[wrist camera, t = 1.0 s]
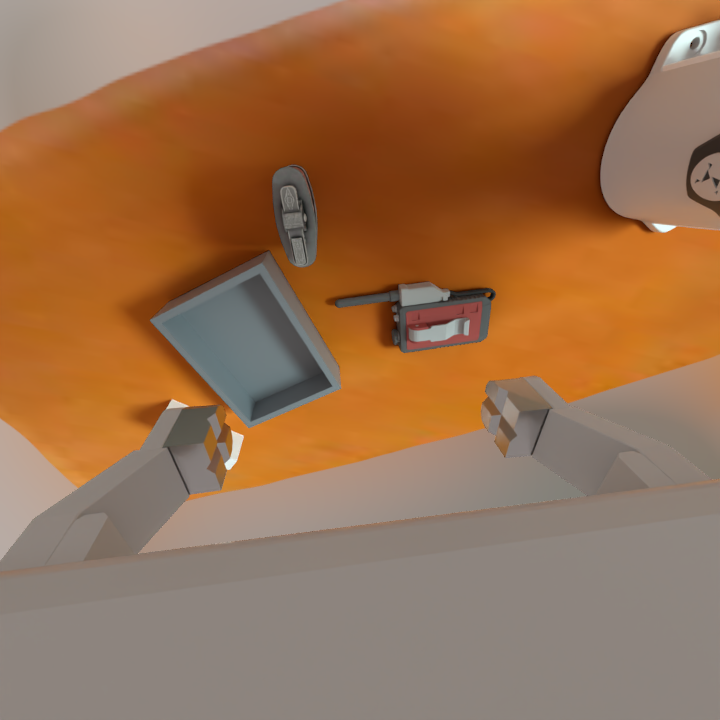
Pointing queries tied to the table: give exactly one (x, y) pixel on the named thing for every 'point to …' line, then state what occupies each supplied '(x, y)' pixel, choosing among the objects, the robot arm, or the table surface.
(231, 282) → the grey tray
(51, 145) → the table surface
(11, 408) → the table surface
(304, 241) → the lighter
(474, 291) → the walkie-talkie
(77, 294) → the table surface
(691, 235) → the table surface
